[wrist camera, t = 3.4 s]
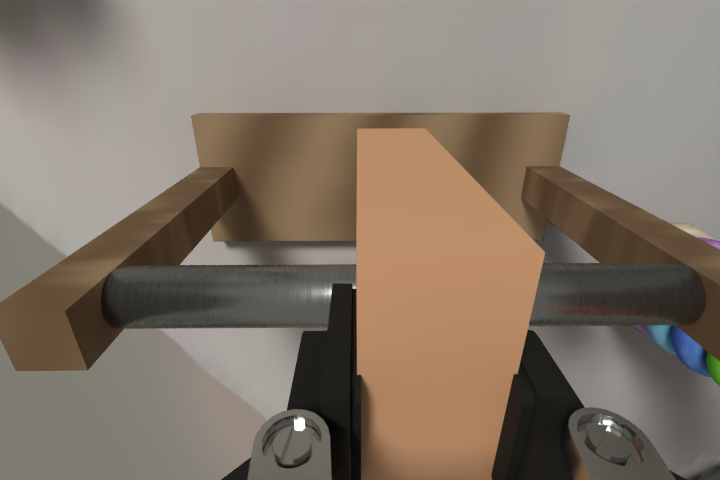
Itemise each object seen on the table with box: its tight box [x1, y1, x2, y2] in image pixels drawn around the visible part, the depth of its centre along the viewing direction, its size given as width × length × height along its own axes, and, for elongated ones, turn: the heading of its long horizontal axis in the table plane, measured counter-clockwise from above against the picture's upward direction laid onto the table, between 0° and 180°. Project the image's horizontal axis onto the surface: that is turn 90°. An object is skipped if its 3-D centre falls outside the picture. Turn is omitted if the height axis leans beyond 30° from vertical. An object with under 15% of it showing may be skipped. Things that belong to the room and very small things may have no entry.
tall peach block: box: [356, 128, 545, 480], centre depth 13 cm, size 3×8×12 cm, turn 0°
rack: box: [0, 113, 720, 371], centre depth 18 cm, size 22×8×16 cm, turn 90°
